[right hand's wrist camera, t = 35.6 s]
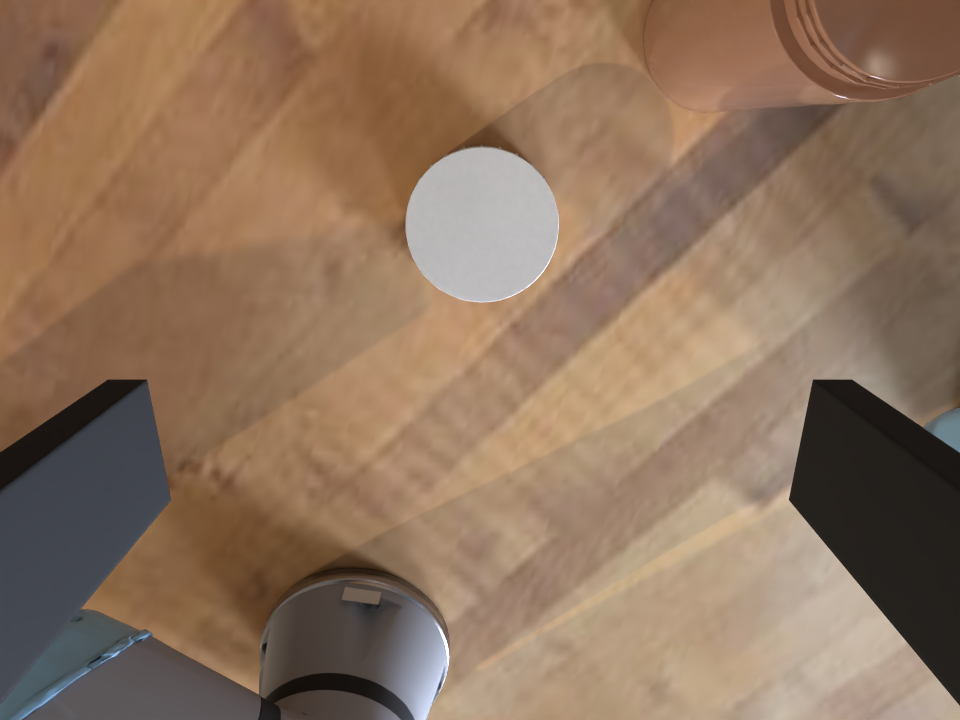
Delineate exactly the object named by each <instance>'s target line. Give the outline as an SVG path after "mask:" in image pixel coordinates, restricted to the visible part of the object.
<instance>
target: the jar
mask: <svg viewBox="0 0 960 720" xmlns="http://www.w3.org/2000/svg"><path fill="white" fill-rule="evenodd" d="M644 52H645V58H646V62H647V65H648V69H649V71H650V74H651V76H652V78H653V80H654V81H655V83H656V85H657V86H658V88H659V89H660V90H661V91H662V92H663V93H664V95H666V96H667V97H668V98H669V99H670V100H671V101H673V102H675V103H676V104H678V105H679V106H682V107H684V108H686V109H689V110H693V111H697V112H726V111H741V110H755V109H770V108H785V107H800V106H814V105H829V104H844V103H859V102H874V101H883V100H890V99H896V98H899V97H903V96H906V95H909V94H912V93H915V92H917V91H919V90H922V89H924V88H926V87H929V86H930V85H932V84H935V83H937V82H940V81H943V80H946V79H948V78H951V77H954V76H956V75H959V74H960V0H653V1H652V4H651V6H650V9H649V12H648V15H647V19H646V24H645V29H644Z"/></svg>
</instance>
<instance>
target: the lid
mask: <svg viewBox="0 0 960 720" xmlns="http://www.w3.org/2000/svg"><path fill="white" fill-rule="evenodd" d="M405 215H406V225H405V228H406V231H405V233H406V238H407V242H408V246H409V250H410V252H411V255H412V257H413V259H414V261H415V263H416V265H417V266H418V268H419V269H420V271H421V272H422V273H423V275H424V276H425V277H426V278H427V279H428V280H429V281H430V282H431V283H432V284H434V285H435V286H436V287H437V288H439V289H440V290H442V291H443V292H445V293H447V294H449V295H451V296H453V297H456V298H459V299H462V300H467V301H472V302H492V301H497V300H502V299H505V298H508V297H511V296H513V295H515V294H517V293H519V292H521V291H522V290H524V289H525V288H527V287H528V286H529V285H531V284H532V283H533V282H534V281H535V280H536V279H537V278H538V277H539V276H540V275H541V273H542V272H543V271H544V269H545V268H546V267H547V265H548V263H549V261H550V259H551V258H552V255H553V252H554V250H555V247H556V243H557V239H558V232H559V218H558V211H557V206H556V202H555V199H554V194H553V193H552V192H551V189H550V188H549V186H548V184H547V183H546V181H545V178H544V177H543V176H541V174H540V173H539V172H538V171H537V170H536V169H535V168H534V167H533V164H532V163H530V164H529V163H528V162H527V161H525V160H524V159H523V158H521V157H519V156H518V154H517V153H515V154H514V153H512V152H509V151H507V150H504V149H501V147H498V148H496V147H490V146H483V145H481V146H474V147H468V148H465V147H463V148H462V149H460V150H457V151H455V152H452V153H450V154H448V153H447V154H446V155H445V157H443V158H442V159H440V160H439V161H437V162H436V163H435V164H432V165H430V168H429V169H428V170H427V171H426V172H425V174H424V175H423V176H422V177H420V178H419V179H418V183H417V185H416V186H415V188H414V190H413V192H412V194H411V195H410V200H409V203H408V207H407V212H406V214H405Z"/></svg>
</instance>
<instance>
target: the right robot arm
mask: <svg viewBox="0 0 960 720" xmlns="http://www.w3.org/2000/svg"><path fill="white" fill-rule="evenodd" d="M170 501H171V497H170V492H169V487H168V482H167V477H166V472H165V467H164V462H163V457H162V452H161V447H160V442H159V437H158V432H157V427H156V422H155V417H154V412H153V407H152V402H151V397H150V392H149V387H148V382H147V380H107V381H105V382H104V383H102V384H101V385H99V386H98V387H97V388H95V389H94V390H92V391H91V392H89V393H88V394H86V395H85V396H83V397H82V398H80V399H79V400H77V401H76V402H74V403H73V404H71V405H70V406H68V407H67V408H65V409H64V410H63V411H61V412H60V413H58V414H57V415H55V416H54V417H52V418H51V419H49V420H48V421H46V422H45V423H43V424H42V425H40V426H39V427H37V428H36V429H34V430H33V431H31V432H30V433H28V434H27V435H26V436H24V437H23V438H21V439H20V440H18V441H17V442H15V443H14V444H12V445H11V446H9V447H8V448H6V449H5V450H3V451H2V452H0V720H426V719H427V716H428V713H429V709H430V707H431V705H432V703H433V702H434V701H435V699H436V698H437V696H438V694H439V692H440V690H441V688H442V686H443V683H444V681H445V678H446V675H447V671H448V663H449V644H450V642H449V634H448V629H447V626H446V623H445V621H444V619H443V617H442V615H441V613H440V612H439V610H438V608H437V607H436V606H435V605H434V603H433V602H432V601H431V600H430V599H429V598H428V597H427V596H426V595H425V594H424V593H422V592H421V591H420V590H419V589H417V588H416V587H414V586H413V585H411V584H409V583H408V582H406V581H404V580H402V579H400V578H398V577H395V576H392V575H390V574H387V573H383V572H379V571H374V570H369V569H359V568H346V569H335V570H330V571H325V572H321V573H318V574H315V575H313V576H310V577H308V578H306V579H304V580H302V581H300V582H298V583H297V584H295V585H294V586H292V587H291V588H290V589H289V590H288V591H286V592H285V593H284V594H283V596H282V597H281V598H280V599H279V600H278V602H277V603H276V605H275V606H274V608H273V610H272V612H271V614H270V617H269V619H268V621H267V624H266V626H265V628H264V631H263V634H262V637H261V643H260V667H261V672H260V680H259V695H258V694H256V693H255V692H253V691H251V690H249V689H247V688H245V687H243V686H242V685H240V684H238V683H236V682H234V681H232V680H230V679H228V678H227V677H225V676H223V675H221V674H219V673H217V672H215V671H214V670H212V669H210V668H208V667H206V666H204V665H202V664H201V663H199V662H197V661H195V660H193V659H191V658H189V657H187V656H186V655H184V654H182V653H180V652H178V651H177V650H175V649H173V648H171V647H170V646H168V645H166V644H164V643H162V642H161V641H159V640H157V639H155V638H154V637H152V636H153V634H152V633H150V632H149V631H147V630H141V631H140V630H138V629H136V628H133V627H131V626H129V625H127V624H124V623H122V622H120V621H118V620H116V619H113V618H111V617H109V616H107V615H105V614H103V613H101V612H98V611H95V610H89V609H81V608H82V607H83V605H84V604H85V603H86V602H87V600H88V599H89V598H90V597H91V596H92V594H93V593H94V592H95V591H96V590H97V588H98V587H99V586H100V585H101V584H102V582H103V581H104V580H105V579H106V578H107V576H108V575H109V574H110V573H111V572H112V570H113V569H114V568H115V567H116V566H117V564H118V563H119V562H120V561H121V560H122V558H123V557H124V556H125V555H126V554H127V552H128V551H129V550H130V549H131V548H132V546H133V545H134V544H135V543H136V542H137V540H138V539H139V538H140V537H141V535H142V534H143V533H144V532H145V531H146V529H147V528H148V527H149V526H150V525H151V523H152V522H153V521H154V520H155V519H156V517H157V516H158V515H159V514H160V513H161V511H162V510H163V509H164V508H165V507H166V505H167V504H168V503H169V502H170ZM789 501H790V502H791V503H792V504H793V505H794V507H795V508H796V509H797V510H798V511H799V513H800V514H801V515H802V516H803V517H804V519H805V520H806V521H807V522H808V523H809V525H810V526H811V527H812V528H813V529H814V531H815V532H816V533H817V534H818V535H819V537H820V538H821V539H822V540H823V542H824V543H825V544H826V545H827V546H828V548H829V549H830V550H831V551H832V552H833V554H834V555H835V556H836V557H837V558H838V560H839V561H840V562H841V563H842V564H843V566H844V567H845V568H846V569H847V570H848V572H849V573H850V574H851V575H852V576H853V578H854V579H855V580H856V581H857V582H858V584H859V585H860V586H861V587H862V588H863V590H864V591H865V592H866V593H867V594H868V596H869V597H870V598H871V599H872V600H873V602H874V603H875V604H876V605H877V607H878V608H879V609H880V610H881V611H882V613H883V614H884V615H885V616H886V617H887V619H888V620H889V621H890V622H891V623H892V625H893V626H894V627H895V628H896V629H897V631H898V632H899V633H900V634H901V635H902V637H903V638H904V639H905V640H906V641H907V643H908V644H909V645H910V646H911V647H912V649H913V650H914V651H915V652H916V653H917V655H918V656H919V657H920V658H921V659H922V661H923V662H924V663H925V664H926V665H927V667H928V668H929V669H930V670H931V671H932V673H933V674H934V675H935V676H936V678H937V679H938V680H939V681H940V682H941V684H942V685H943V686H944V687H945V688H946V690H947V691H948V692H949V693H950V694H951V696H952V697H953V698H954V699H955V700H956V702H957V703H958V704H959V705H960V452H958V451H957V450H955V449H954V448H952V447H951V446H949V445H948V444H946V443H945V442H943V441H942V440H940V439H939V438H937V437H936V436H934V435H933V434H932V433H930V432H929V431H927V430H926V429H924V428H923V427H921V426H920V425H918V424H917V423H915V422H914V421H912V420H911V419H909V418H908V417H906V416H905V415H903V414H902V413H900V412H899V411H897V410H896V409H895V408H893V407H892V406H890V405H889V404H887V403H886V402H884V401H883V400H881V399H880V398H878V397H877V396H875V395H874V394H872V393H871V392H869V391H868V390H866V389H865V388H863V387H862V386H861V385H859V384H858V383H856V382H855V381H853V380H813V382H812V387H811V392H810V397H809V402H808V407H807V412H806V417H805V422H804V427H803V432H802V437H801V442H800V447H799V452H798V457H797V462H796V467H795V472H794V477H793V482H792V487H791V492H790V497H789ZM80 609H81V610H80Z"/></svg>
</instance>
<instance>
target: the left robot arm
mask: <svg viewBox="0 0 960 720" xmlns="http://www.w3.org/2000/svg"><path fill="white" fill-rule="evenodd" d="M923 428H924V429H926V430H927V431H929V432H930V433H932V434H933V435H934V436H936V437H937V438H939V439H940V440H942V441H943V442H945V443H946V444H948V445H949V446H951V447H952V448H954V449H955V450H957V451H958V452H960V407H959V408H955V409H952V410H949V411H947V412H945V413H943V414H941V415H939V416H938V417H936V418H934V419H933V420H932V421H930V422H929V423H928V424H926V425H925V426H924V427H923Z"/></svg>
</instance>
